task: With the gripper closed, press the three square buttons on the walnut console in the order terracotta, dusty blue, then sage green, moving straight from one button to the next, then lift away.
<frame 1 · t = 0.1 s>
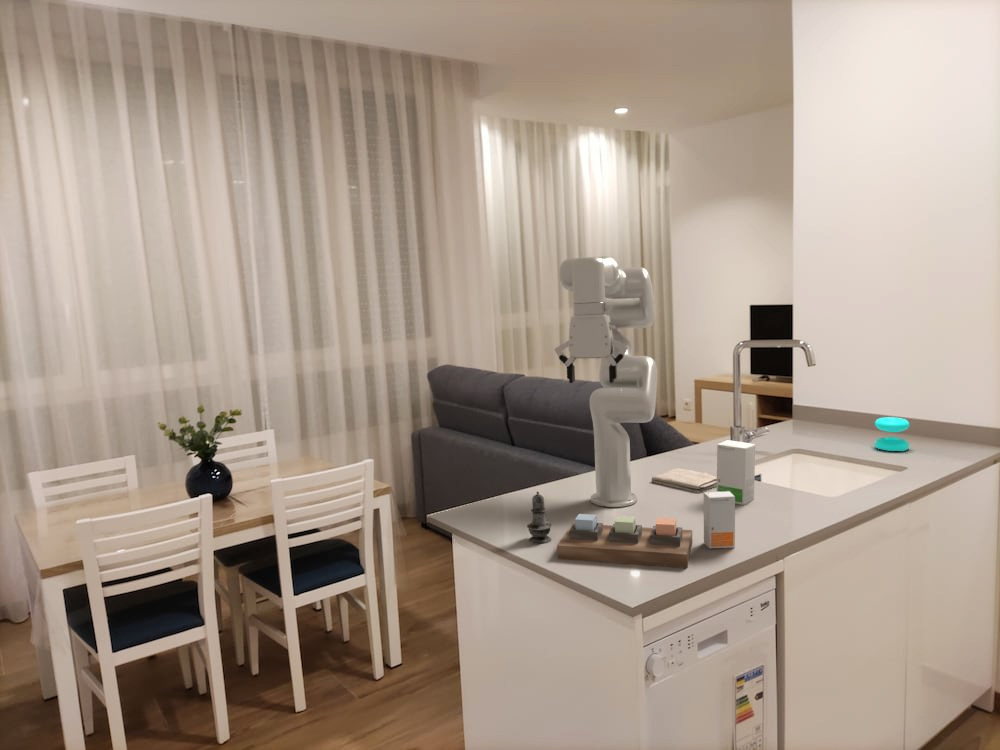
hand: (592, 382, 174), 37 cm above the worktop, tool pointing down, fingers open, 9 cm apart
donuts: (891, 449, 241), on the worktop
skincare box 2: (719, 546, 165), on the worktop
terracotta button: (666, 527, 161), point 6 cm above the worktop, slide at 0.0 cm
blue button: (585, 522, 167), point 6 cm above the worktop, slide at 0.0 cm
dark grey figurine: (540, 540, 174), on the worktop
console: (626, 550, 165), on the worktop
skincare box: (736, 500, 197), on the worktop
green button: (625, 524, 164), point 6 cm above the worktop, slide at 0.0 cm
washcloth: (686, 485, 215), on the worktop
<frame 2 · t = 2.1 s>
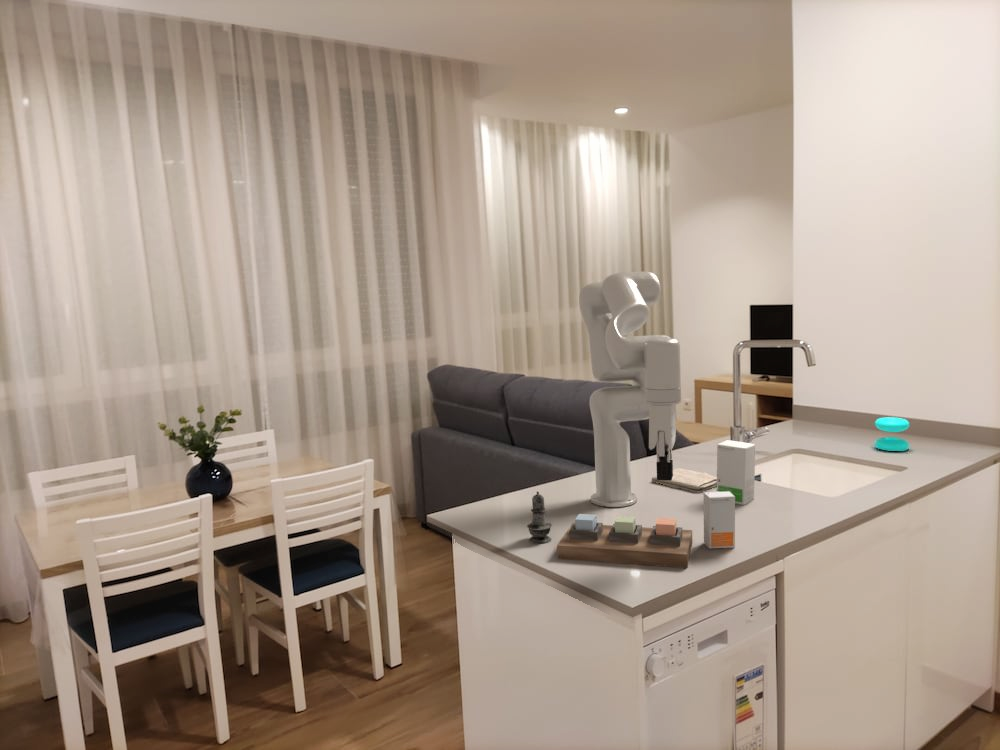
hand: (664, 478, 160), 17 cm above the worktop, tool pointing down, fingers closed
nothing on the worktop moved.
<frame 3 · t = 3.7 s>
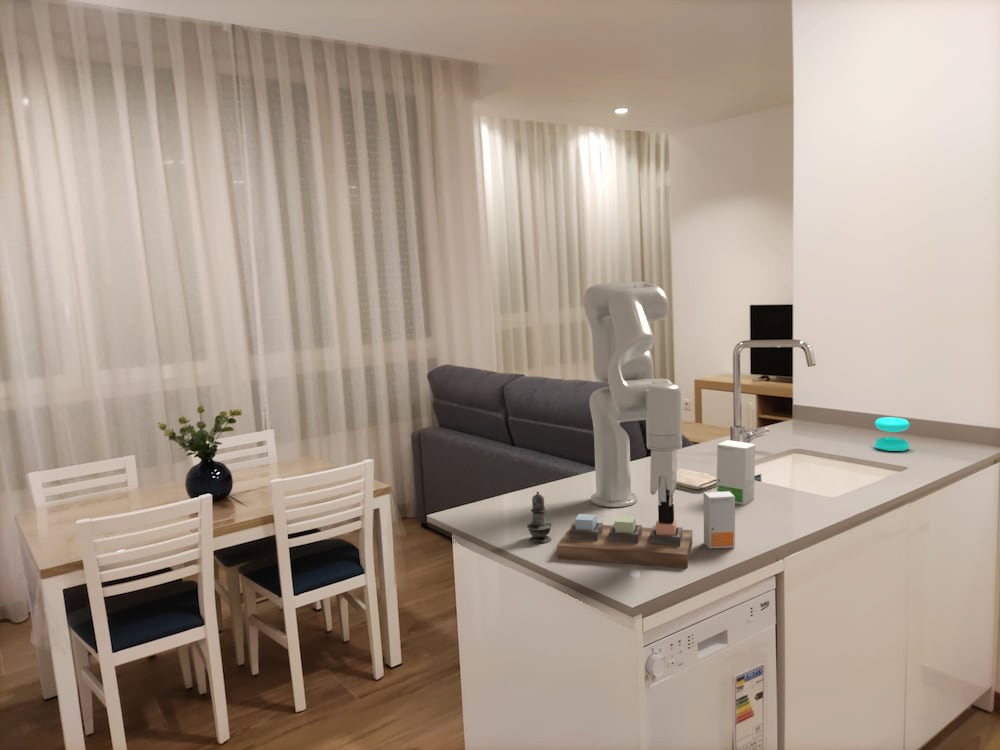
hand: (666, 522, 161), 7 cm above the worktop, tool pointing down, fingers closed
terracotta button: (666, 527, 161), point 6 cm above the worktop, slide at 0.1 cm, touching gripper
everything else where it was.
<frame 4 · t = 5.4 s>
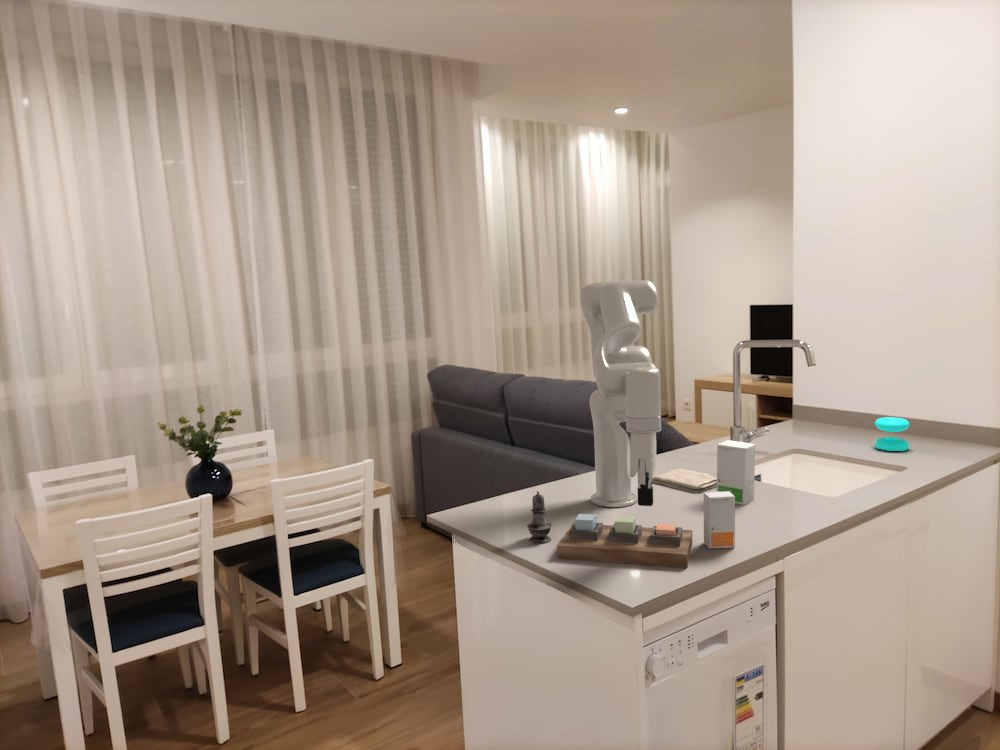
hand: (645, 504, 162), 11 cm above the worktop, tool pointing down, fingers closed
terracotta button: (666, 532, 161), point 5 cm above the worktop, slide at 1.2 cm
everything else where it was.
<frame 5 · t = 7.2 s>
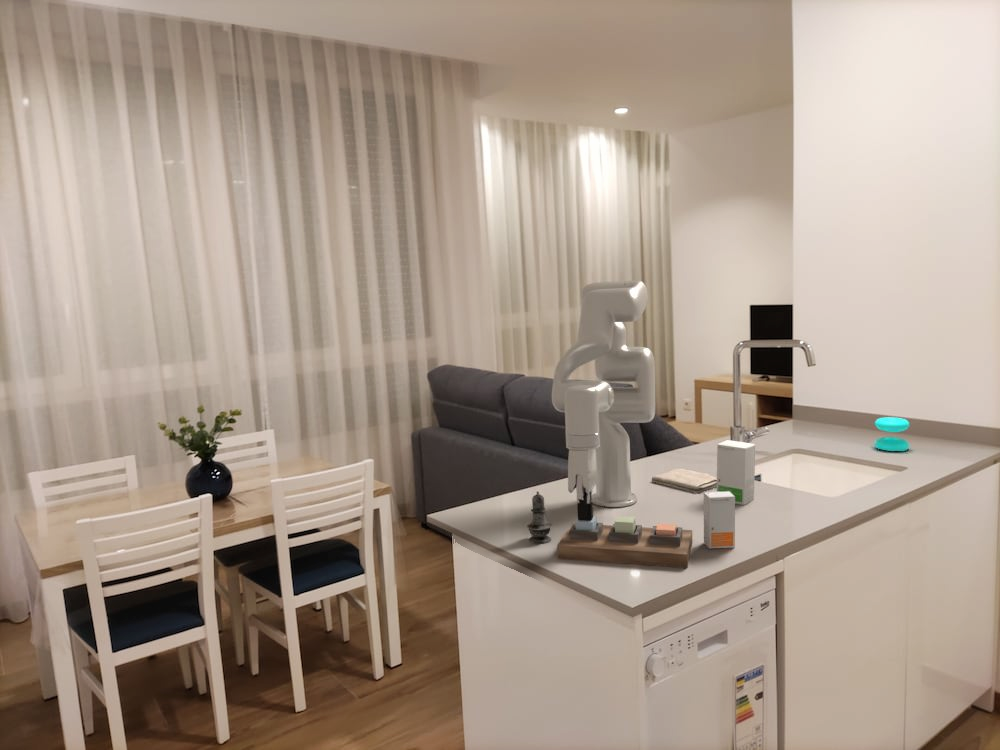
hand: (585, 519, 167), 7 cm above the worktop, tool pointing down, fingers closed
blue button: (585, 524, 167), point 6 cm above the worktop, slide at 0.5 cm, touching gripper
everything else where it was.
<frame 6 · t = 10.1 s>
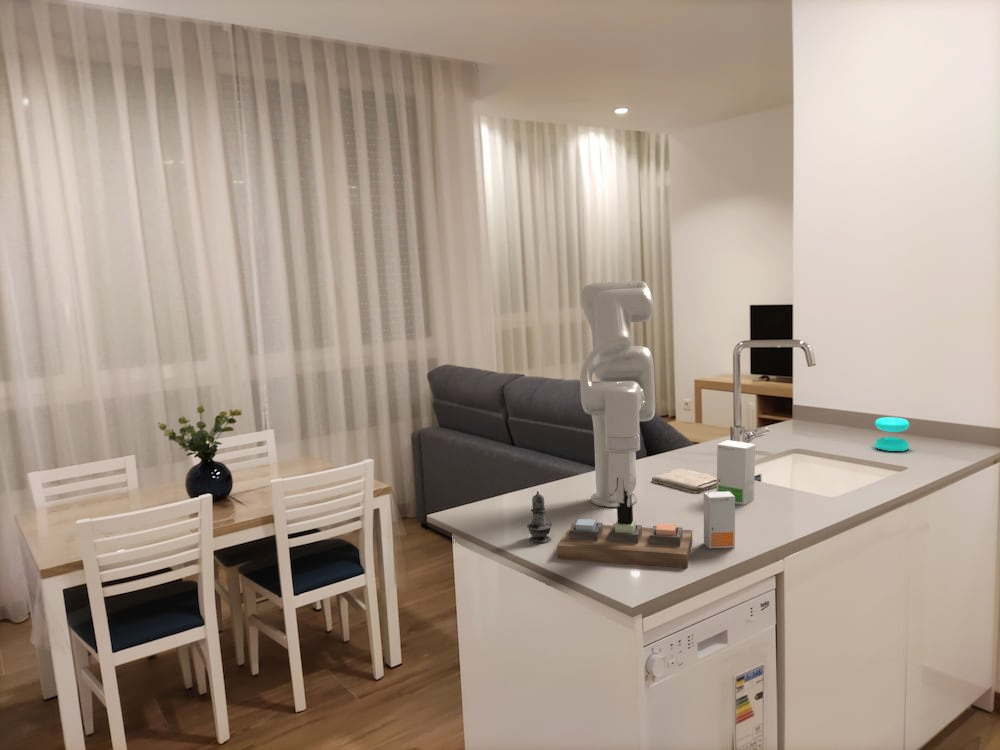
hand: (625, 522, 164), 7 cm above the worktop, tool pointing down, fingers closed
blue button: (586, 527, 167), point 5 cm above the worktop, slide at 1.2 cm
green button: (625, 528, 164), point 5 cm above the worktop, slide at 0.8 cm, touching gripper
everything else where it was.
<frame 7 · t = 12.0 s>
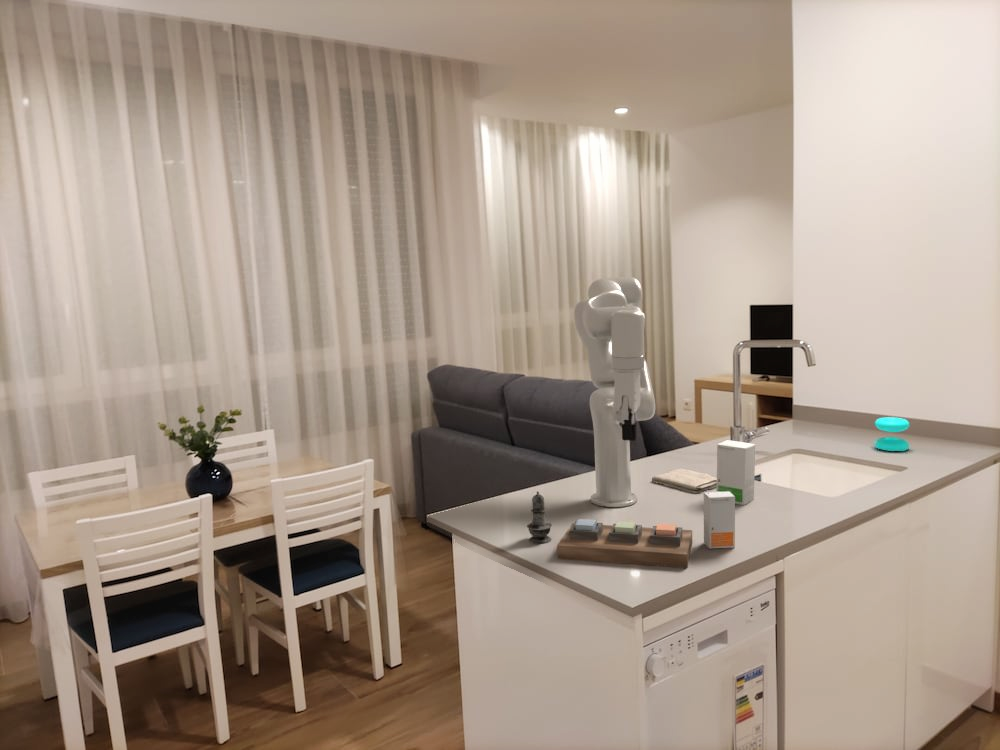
hand: (629, 439, 173), 23 cm above the worktop, tool pointing down, fingers closed
green button: (625, 530, 164), point 5 cm above the worktop, slide at 1.2 cm
everything else where it was.
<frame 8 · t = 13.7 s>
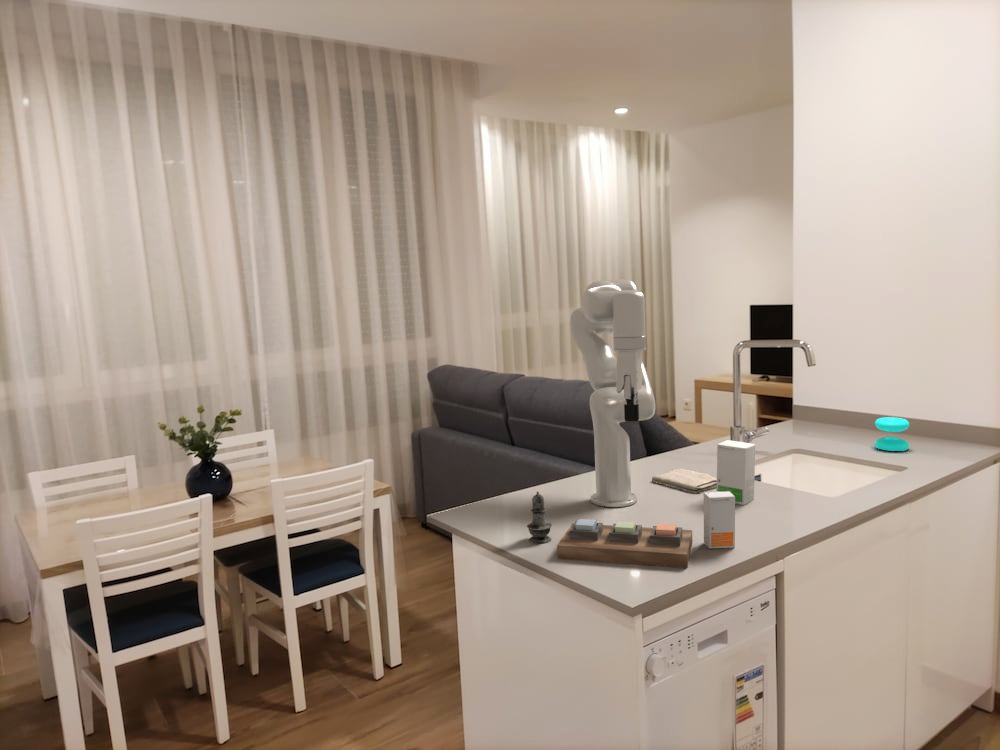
hand: (631, 420, 175), 27 cm above the worktop, tool pointing down, fingers closed
nothing on the worktop moved.
at the end: terracotta button slide at 1.2 cm; blue button slide at 1.2 cm; green button slide at 1.2 cm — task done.
